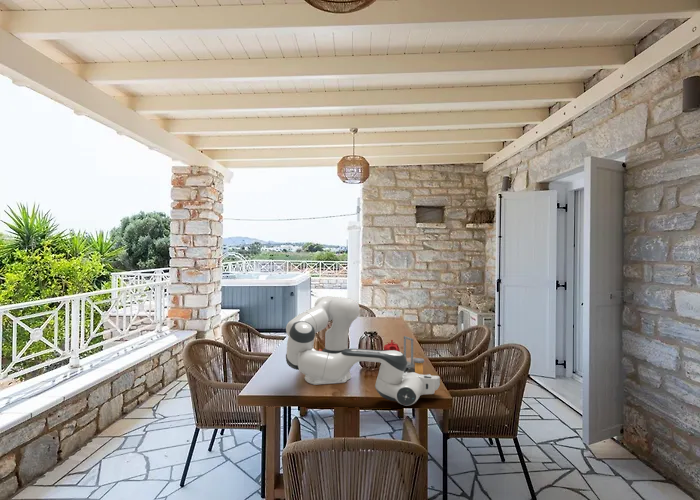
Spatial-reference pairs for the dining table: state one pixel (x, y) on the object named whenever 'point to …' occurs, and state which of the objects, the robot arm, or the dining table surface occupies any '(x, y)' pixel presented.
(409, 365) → the trolley
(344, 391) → the dining table surface
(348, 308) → the robot arm
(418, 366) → the pin
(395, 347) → the red hollow tomato
